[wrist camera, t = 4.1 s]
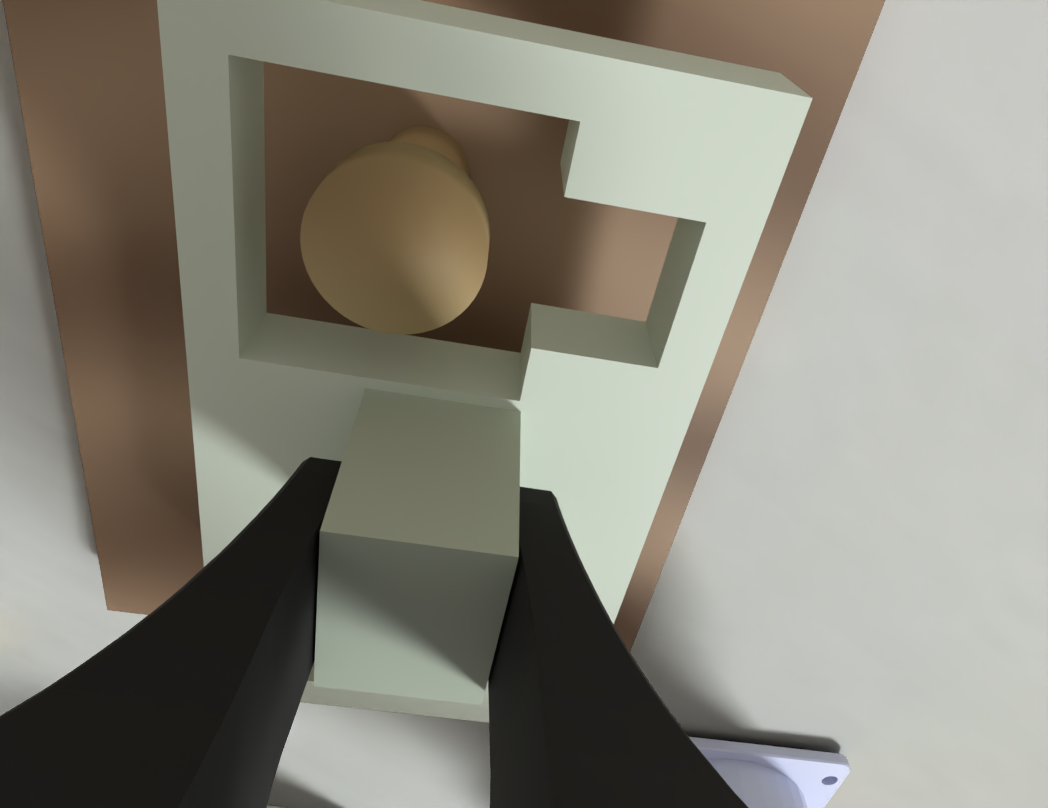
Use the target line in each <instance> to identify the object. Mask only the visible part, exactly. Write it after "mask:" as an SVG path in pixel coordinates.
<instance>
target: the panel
mask: <svg viewBox="0 0 1048 808" xmlns="http://www.w3.org/2000/svg"><path fill="white" fill-rule="evenodd" d="M157 7H158V19H159V31H160V43H161V55H162V67H163V79H164V91H165V103H166V115H167V128H168V140H169V152H170V164H171V176H172V188H173V200H174V212H175V224H176V236H177V249H178V261H179V273H180V285H181V297H182V309H183V321H184V333H185V345H186V357H187V370H188V382H189V394H190V406H191V418H192V430H193V442H194V454H195V466H196V478H197V490H198V503H199V515H200V527H201V539H202V551H203V563H204V567H205V566H206V565H207V564H208V563H209V562H210V561H211V560H212V559H214V558H215V557H216V556H217V555H218V554H219V553H220V552H221V551H222V550H223V549H224V548H225V547H226V546H227V545H228V544H229V543H230V542H231V541H232V540H233V539H234V538H235V537H236V536H237V535H238V534H239V533H240V532H241V531H242V530H243V529H244V528H245V527H246V526H247V525H248V524H249V523H250V522H251V521H252V520H253V519H254V518H255V517H256V516H257V515H258V513H259V512H260V511H261V510H262V509H263V508H264V507H265V506H266V505H267V504H268V502H269V501H270V500H271V499H272V498H273V497H274V496H275V495H276V493H277V492H278V491H279V490H280V489H281V488H282V487H283V485H284V484H285V483H286V482H287V481H288V479H289V478H290V477H291V476H292V474H293V473H294V472H295V471H296V469H297V468H298V467H299V466H300V464H301V463H302V462H303V461H304V460H306V459H308V458H309V457H314V458H321V459H328V460H335V461H342V463H341V466H340V469H339V472H338V475H337V479H336V482H335V485H334V488H333V491H332V494H331V497H330V501H329V504H328V507H327V510H326V513H325V516H324V519H323V523H322V526H321V529H320V539H319V564H318V590H317V615H316V640H315V661H314V664H313V667H312V670H311V672H310V675H309V678H308V681H307V684H306V686H305V689H304V692H303V695H302V698H301V700H300V702H304V703H314V704H323V705H332V706H341V707H350V708H359V709H368V710H377V711H386V712H396V713H405V714H414V715H423V716H432V717H441V718H450V719H459V720H468V721H478V722H487V723H489V695H488V678H489V674H490V670H491V666H492V662H493V658H494V654H495V650H496V646H497V642H498V638H499V634H500V630H501V626H502V622H503V618H504V614H505V610H506V606H507V602H508V598H509V594H510V590H511V586H512V582H513V578H514V574H515V570H516V566H517V562H518V558H519V502H520V487H526V488H533V489H540V490H548V491H552V493H553V494H554V495H555V497H556V498H557V501H558V504H559V507H560V510H561V513H562V516H563V518H564V521H565V524H566V526H567V529H568V531H569V534H570V536H571V539H572V541H573V543H574V546H575V548H576V550H577V552H578V555H579V557H580V559H581V561H582V564H583V566H584V568H585V570H586V572H587V574H588V576H589V578H590V580H591V582H592V584H593V586H594V588H595V590H596V592H597V594H598V596H599V598H600V600H601V602H602V604H603V606H604V608H605V610H606V611H607V613H608V615H609V617H610V619H611V621H612V623H613V624H614V622H615V619H616V617H617V614H618V611H619V609H620V606H621V604H622V601H623V598H624V596H625V593H626V590H627V588H628V585H629V582H630V580H631V577H632V574H633V572H634V569H635V567H636V564H637V561H638V559H639V556H640V553H641V551H642V548H643V545H644V543H645V540H646V538H647V535H648V532H649V530H650V527H651V524H652V522H653V519H654V516H655V514H656V511H657V508H658V506H659V503H660V501H661V498H662V495H663V493H664V490H665V487H666V485H667V482H668V479H669V477H670V474H671V471H672V469H673V466H674V464H675V461H676V458H677V456H678V453H679V450H680V448H681V445H682V442H683V440H684V437H685V434H686V432H687V429H688V427H689V424H690V421H691V419H692V416H693V413H694V411H695V408H696V405H697V403H698V400H699V397H700V395H701V392H702V390H703V387H704V384H705V382H706V379H707V376H708V374H709V371H710V368H711V366H712V363H713V360H714V358H715V355H716V353H717V350H718V347H719V345H720V342H721V339H722V337H723V334H724V331H725V329H726V326H727V323H728V321H729V318H730V316H731V313H732V310H733V308H734V305H735V302H736V300H737V297H738V294H739V292H740V289H741V286H742V284H743V281H744V279H745V276H746V273H747V271H748V268H749V265H750V263H751V260H752V257H753V255H754V252H755V250H756V247H757V244H758V242H759V239H760V236H761V234H762V231H763V228H764V226H765V223H766V220H767V218H768V215H769V213H770V210H771V207H772V205H773V202H774V199H775V197H776V194H777V191H778V189H779V186H780V183H781V181H782V178H783V176H784V173H785V170H786V168H787V165H788V162H789V160H790V157H791V154H792V152H793V149H794V146H795V144H796V141H797V139H798V136H799V133H800V131H801V128H802V125H803V123H804V120H805V117H806V115H807V112H808V109H809V107H810V104H811V102H812V99H813V98H812V97H811V96H809V95H808V94H807V93H805V92H804V91H803V90H802V89H800V88H799V87H798V86H796V85H795V84H794V83H793V82H791V81H790V80H789V79H787V78H786V77H785V76H784V75H782V74H781V73H778V72H773V71H768V70H763V69H759V68H754V67H749V66H744V65H739V64H734V63H729V62H724V61H719V60H714V59H709V58H704V57H699V56H694V55H689V54H684V53H679V52H674V51H669V50H664V49H660V48H655V47H650V46H645V45H640V44H635V43H630V42H625V41H620V40H615V39H610V38H605V37H600V36H595V35H590V34H585V33H580V32H575V31H570V30H565V29H561V28H556V27H551V26H546V25H541V24H536V23H531V22H526V21H521V20H516V19H511V18H506V17H501V16H496V15H491V14H486V13H481V12H476V11H471V10H466V9H461V8H457V7H452V6H447V5H442V4H437V3H432V2H427V1H422V0H157ZM264 61H265V62H270V63H275V64H280V65H286V66H291V67H296V68H301V69H307V70H312V71H317V72H322V73H328V74H333V75H338V76H343V77H349V78H354V79H359V80H364V81H370V82H375V83H380V84H385V85H391V86H396V87H401V88H407V89H412V90H417V91H422V92H428V93H433V94H438V95H443V96H449V97H454V98H459V99H464V100H470V101H475V102H480V103H485V104H491V105H496V106H501V107H506V108H512V109H517V110H522V111H527V112H533V113H538V114H543V115H548V116H554V117H559V118H564V119H569V123H568V128H567V133H566V138H565V142H564V147H563V152H562V157H561V162H560V164H561V173H562V182H563V191H564V197H567V198H573V199H579V200H584V201H590V202H595V203H601V204H606V205H612V206H617V207H623V208H629V209H634V210H640V211H645V212H651V213H656V214H662V215H667V216H673V217H678V219H677V222H676V226H675V229H674V232H673V235H672V239H671V242H670V245H669V248H668V252H667V255H666V258H665V261H664V264H663V268H662V271H661V274H660V277H659V281H658V284H657V287H656V290H655V294H654V297H653V300H652V303H651V307H650V310H649V313H648V316H647V320H646V322H644V321H638V320H632V319H626V318H620V317H614V316H608V315H602V314H596V313H590V312H584V311H578V310H571V309H565V308H559V307H553V306H547V305H541V304H535V303H531V306H530V310H529V315H528V320H527V325H526V330H525V334H524V339H523V344H522V349H521V353H518V352H511V351H505V350H499V349H493V348H486V347H480V346H474V345H467V344H461V343H455V342H448V341H442V340H436V339H429V338H423V337H417V336H411V335H398V334H388V333H383V332H378V331H374V330H371V329H366V328H360V327H354V326H347V325H341V324H335V323H329V322H322V321H316V320H310V319H303V318H297V317H291V316H284V315H278V314H272V313H267V303H266V221H265V139H264Z"/></svg>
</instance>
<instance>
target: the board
mask: <svg viewBox="0 0 1048 808" xmlns="http://www.w3.org/2000/svg"><path fill="white" fill-rule="evenodd" d="M422 1H427V2H432V3H437V4H442V5H447V6H452V7H457V8H461V9H466V10H471V11H476V12H481V13H486V14H491V15H496V16H501V17H506V18H511V19H516V20H521V21H526V22H531V23H536V24H541V25H546V26H551V27H556V28H561V29H565V30H570V31H575V32H580V33H585V34H590V35H595V36H600V37H605V38H610V39H615V40H620V41H625V42H630V43H635V44H640V45H645V46H650V47H655V48H660V49H664V50H669V51H674V52H679V53H684V54H689V55H694V56H699V57H704V58H709V59H714V60H719V61H724V62H729V63H734V64H739V65H744V66H749V67H754V68H759V69H763V70H768V71H773V72H778V73H781V74H782V75H784V76H785V77H786V78H787V79H789V80H790V81H791V82H793V83H794V84H795V85H796V86H798V87H799V88H800V89H802V90H803V91H804V92H805V93H807V94H808V95H809V96H811V97H812V98H813V99H812V102H811V104H810V107H809V109H808V112H807V115H806V117H805V120H804V123H803V125H802V128H801V131H800V133H799V136H798V139H797V141H796V144H795V146H794V149H793V152H792V154H791V157H790V160H789V162H788V165H787V168H786V170H785V173H784V176H783V178H782V181H781V183H780V186H779V189H778V191H777V194H776V197H775V199H774V202H773V205H772V207H771V210H770V213H769V215H768V218H767V220H766V223H765V226H764V228H763V231H762V234H761V236H760V239H759V242H758V244H757V247H756V250H755V252H754V255H753V257H752V260H751V263H750V265H749V268H748V271H747V273H746V276H745V279H744V281H743V284H742V286H741V289H740V292H739V294H738V297H737V300H736V302H735V305H734V308H733V310H732V313H731V316H730V318H729V321H728V323H727V326H726V329H725V331H724V334H723V337H722V339H721V342H720V345H719V347H718V350H717V353H716V355H715V358H714V360H713V363H712V366H711V368H710V371H709V374H708V376H707V379H706V382H705V384H704V387H703V390H702V392H701V395H700V397H699V400H698V403H697V405H696V408H695V411H694V413H693V416H692V419H691V421H690V424H689V427H688V429H687V432H686V434H685V437H684V440H683V442H682V445H681V448H680V450H679V453H678V456H677V458H676V461H675V464H674V466H673V469H672V471H671V474H670V477H669V479H668V482H667V485H666V487H665V490H664V493H663V495H662V498H661V501H660V503H659V506H658V508H657V511H656V514H655V516H654V519H653V522H652V524H651V527H650V530H649V532H648V535H647V538H646V540H645V543H644V545H643V548H642V551H641V553H640V556H639V559H638V561H637V564H636V567H635V569H634V572H633V574H632V577H631V580H630V582H629V585H628V588H627V590H626V593H625V596H624V598H623V601H622V604H621V606H620V609H619V611H618V614H617V617H616V619H615V622H614V626H615V628H616V629H617V631H618V633H619V635H620V636H621V638H622V640H623V642H624V643H625V645H626V647H627V648H628V650H629V652H630V650H631V648H632V645H633V642H634V640H635V637H636V635H637V632H638V630H639V627H640V625H641V622H642V619H643V617H644V614H645V612H646V609H647V607H648V604H649V602H650V599H651V597H652V594H653V591H654V589H655V586H656V584H657V581H658V579H659V576H660V574H661V571H662V568H663V566H664V563H665V561H666V558H667V556H668V553H669V551H670V548H671V546H672V543H673V540H674V538H675V535H676V533H677V530H678V528H679V525H680V523H681V520H682V517H683V515H684V512H685V510H686V507H687V505H688V502H689V500H690V497H691V495H692V492H693V489H694V487H695V484H696V482H697V479H698V477H699V474H700V472H701V469H702V466H703V464H704V461H705V459H706V456H707V454H708V451H709V449H710V446H711V444H712V441H713V438H714V436H715V433H716V431H717V428H718V426H719V423H720V421H721V418H722V415H723V413H724V410H725V408H726V405H727V403H728V400H729V398H730V395H731V393H732V390H733V387H734V385H735V382H736V380H737V377H738V375H739V372H740V370H741V367H742V364H743V362H744V359H745V357H746V354H747V352H748V349H749V347H750V344H751V342H752V339H753V336H754V334H755V331H756V329H757V326H758V324H759V321H760V319H761V316H762V313H763V311H764V308H765V306H766V303H767V301H768V298H769V296H770V293H771V291H772V288H773V285H774V283H775V280H776V278H777V275H778V273H779V270H780V268H781V265H782V262H783V260H784V257H785V255H786V252H787V250H788V247H789V245H790V242H791V240H792V237H793V234H794V232H795V229H796V227H797V224H798V222H799V219H800V217H801V214H802V211H803V209H804V206H805V204H806V201H807V199H808V196H809V194H810V191H811V189H812V186H813V183H814V181H815V178H816V176H817V173H818V171H819V168H820V166H821V163H822V160H823V158H824V155H825V153H826V150H827V148H828V145H829V143H830V140H831V138H832V135H833V132H834V130H835V127H836V125H837V122H838V120H839V117H840V115H841V112H842V109H843V107H844V104H845V102H846V99H847V97H848V94H849V92H850V89H851V87H852V84H853V81H854V79H855V76H856V74H857V71H858V69H859V66H860V64H861V61H862V58H863V56H864V53H865V51H866V48H867V46H868V43H869V41H870V38H871V36H872V33H873V30H874V28H875V25H876V23H877V20H878V18H879V15H880V13H881V10H882V7H883V5H884V2H885V0H422ZM3 5H4V11H5V17H6V23H7V29H8V34H9V40H10V46H11V52H12V58H13V64H14V69H15V75H16V81H17V87H18V93H19V98H20V104H21V110H22V116H23V122H24V128H25V133H26V139H27V145H28V151H29V157H30V163H31V168H32V174H33V180H34V186H35V192H36V197H37V203H38V209H39V215H40V221H41V227H42V232H43V238H44V244H45V250H46V256H47V261H48V267H49V273H50V279H51V285H52V291H53V296H54V302H55V308H56V314H57V320H58V326H59V331H60V337H61V343H62V349H63V355H64V360H65V366H66V372H67V378H68V384H69V390H70V395H71V401H72V407H73V413H74V419H75V425H76V430H77V436H78V442H79V448H80V454H81V459H82V465H83V471H84V477H85V483H86V489H87V494H88V500H89V506H90V512H91V518H92V524H93V529H94V535H95V541H96V547H97V553H98V558H99V564H100V570H101V576H102V582H103V588H104V593H105V599H106V605H107V610H112V611H120V612H129V613H137V614H145V615H149V614H150V613H152V612H153V611H154V610H155V609H157V608H158V607H159V606H160V605H162V604H163V603H164V602H165V601H166V600H168V599H169V598H170V597H171V596H172V595H173V594H175V593H176V592H177V591H178V590H179V589H181V588H182V587H183V586H184V585H185V584H186V583H187V582H188V581H189V580H191V579H192V578H193V577H194V576H195V575H196V574H197V573H198V572H199V571H200V570H201V569H203V568H204V563H203V551H202V539H201V527H200V515H199V503H198V490H197V478H196V466H195V454H194V442H193V430H192V418H191V406H190V394H189V382H188V370H187V357H186V345H185V333H184V321H183V309H182V297H181V285H180V273H179V261H178V249H177V236H176V224H175V212H174V200H173V188H172V176H171V164H170V152H169V140H168V128H167V115H166V103H165V91H164V79H163V67H162V55H161V43H160V31H159V19H158V7H157V0H3ZM568 123H569V119H564V118H559V117H554V116H548V115H543V114H538V113H533V112H527V111H522V110H517V109H512V108H506V107H501V106H496V105H491V104H485V103H480V102H475V101H470V100H464V99H459V98H454V97H449V96H443V95H438V94H433V93H428V92H422V91H417V90H412V89H407V88H401V87H396V86H391V85H385V84H380V83H375V82H370V81H364V80H359V79H354V78H349V77H343V76H338V75H333V74H328V73H322V72H317V71H312V70H307V69H301V68H296V67H291V66H286V65H280V64H275V63H270V62H265V61H264V139H265V221H266V303H267V313H272V314H278V315H284V316H291V317H297V318H303V319H310V320H316V321H322V322H329V323H335V324H341V325H347V326H354V327H360V328H366V329H371V330H374V331H378V332H383V333H388V334H398V335H411V336H417V337H423V338H429V339H436V340H442V341H448V342H455V343H461V344H467V345H474V346H480V347H486V348H493V349H499V350H505V351H511V352H518V353H521V349H522V344H523V339H524V334H525V330H526V325H527V320H528V315H529V310H530V306H531V303H535V304H541V305H547V306H553V307H559V308H565V309H571V310H578V311H584V312H590V313H596V314H602V315H608V316H614V317H620V318H626V319H632V320H638V321H644V322H646V320H647V316H648V313H649V310H650V307H651V303H652V300H653V297H654V294H655V290H656V287H657V284H658V281H659V277H660V274H661V271H662V268H663V264H664V261H665V258H666V255H667V252H668V248H669V245H670V242H671V239H672V235H673V232H674V229H675V226H676V222H677V219H678V217H673V216H667V215H662V214H656V213H651V212H645V211H640V210H634V209H629V208H623V207H617V206H612V205H606V204H601V203H595V202H590V201H584V200H579V199H573V198H567V197H564V191H563V182H562V173H561V164H560V162H561V157H562V152H563V147H564V142H565V138H566V133H567V128H568Z"/></svg>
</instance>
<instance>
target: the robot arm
mask: <svg viewBox="0 0 1048 808" xmlns="http://www.w3.org/2000/svg"><path fill="white" fill-rule="evenodd" d="M341 463H342V461H335V460H328V459H321V458H314V457H309V458H308V459H306V460H304V461H303V462H302V463H301V464H300V466H299V467H298V468H297V469H296V471H295V472H294V473H293V474H292V476H291V477H290V478H289V479H288V481H287V482H286V483H285V484H284V485H283V487H282V488H281V489H280V490H279V491H278V492H277V493H276V495H275V496H274V497H273V498H272V499H271V500H270V501H269V502H268V504H267V505H266V506H265V507H264V508H263V509H262V510H261V511H260V512H259V513H258V515H257V516H256V517H255V518H254V519H253V520H252V521H251V522H250V523H249V524H248V525H247V526H246V527H245V528H244V529H243V530H242V531H241V532H240V533H239V534H238V535H237V536H236V537H235V538H234V539H233V540H232V541H231V542H230V543H229V544H228V545H227V546H226V547H225V548H224V549H223V550H222V551H221V552H220V553H219V554H218V555H217V556H216V557H215V558H214V559H212V560H211V561H210V562H209V563H208V564H207V565H206V566H205V567H204V568H203V569H201V570H200V571H199V572H198V573H197V574H196V575H195V576H194V577H193V578H192V579H191V580H189V581H188V582H187V583H186V584H185V585H184V586H183V587H182V588H181V589H179V590H178V591H177V592H176V593H175V594H173V595H172V596H171V597H170V598H169V599H168V600H166V601H165V602H164V603H163V604H162V605H160V606H159V607H158V608H157V609H155V610H154V611H153V612H152V613H150V614H149V615H148V616H147V617H145V618H144V619H143V620H142V621H140V622H139V623H138V624H136V625H135V626H134V627H132V628H131V629H130V630H129V631H127V632H126V633H125V634H123V635H122V636H121V637H119V638H118V639H117V640H115V641H114V642H112V643H111V644H110V645H108V646H107V647H105V648H104V649H103V650H101V651H100V652H98V653H97V654H96V655H94V656H93V657H91V658H90V659H89V660H87V661H86V662H84V663H83V664H81V665H80V666H79V667H77V668H76V669H74V670H73V671H71V672H70V673H68V674H67V675H65V676H64V677H62V678H61V679H59V680H58V681H56V682H55V683H53V684H52V685H50V686H49V687H47V688H46V689H44V690H43V691H41V692H39V693H38V694H36V695H34V696H33V697H31V698H29V699H28V700H26V701H24V702H23V703H21V704H19V705H18V706H16V707H15V708H13V709H11V710H10V711H8V712H6V713H5V714H3V715H1V716H0V808H266V807H267V803H268V799H269V795H270V791H271V787H272V783H273V780H274V777H275V774H276V770H277V767H278V764H279V761H280V758H281V754H282V751H283V748H284V745H285V743H286V740H287V737H288V734H289V731H290V729H291V726H292V723H293V720H294V717H295V715H296V712H297V709H298V706H299V703H300V700H301V698H302V695H303V692H304V689H305V686H306V684H307V681H308V678H309V675H310V672H311V670H312V667H313V664H314V661H315V640H316V615H317V590H318V564H319V539H320V529H321V526H322V523H323V519H324V516H325V513H326V510H327V507H328V504H329V501H330V497H331V494H332V491H333V488H334V485H335V482H336V479H337V475H338V472H339V469H340V466H341ZM488 695H489V731H490V768H491V783H490V808H824V807H825V805H826V804H827V802H828V801H829V800H830V798H831V797H832V796H833V794H834V793H835V791H836V790H837V789H838V787H839V786H840V785H841V783H842V782H843V780H844V779H845V778H846V776H847V775H848V774H849V772H850V766H849V763H848V760H847V758H846V757H845V756H844V755H842V754H838V753H831V752H822V751H813V750H804V749H795V748H786V747H777V746H768V745H760V744H751V743H742V742H733V741H724V740H715V739H706V738H697V737H688V736H687V734H686V733H685V732H684V730H683V729H682V728H681V726H680V725H679V723H678V722H677V721H676V719H675V718H674V717H673V715H672V714H671V713H670V711H669V710H668V709H667V707H666V706H665V704H664V703H663V702H662V700H661V699H660V697H659V696H658V694H657V693H656V692H655V690H654V689H653V687H652V686H651V684H650V683H649V681H648V680H647V678H646V677H645V675H644V674H643V672H642V671H641V669H640V668H639V666H638V664H637V663H636V661H635V660H634V658H633V656H632V655H631V653H630V652H629V650H628V648H627V647H626V645H625V643H624V642H623V640H622V638H621V636H620V635H619V633H618V631H617V629H616V628H615V626H614V624H613V623H612V621H611V619H610V617H609V615H608V613H607V611H606V610H605V608H604V606H603V604H602V602H601V600H600V598H599V596H598V594H597V592H596V590H595V588H594V586H593V584H592V582H591V580H590V578H589V576H588V574H587V572H586V570H585V568H584V566H583V564H582V561H581V559H580V557H579V555H578V552H577V550H576V548H575V546H574V543H573V541H572V539H571V536H570V534H569V531H568V529H567V526H566V524H565V521H564V518H563V516H562V513H561V510H560V507H559V504H558V501H557V498H556V497H555V495H554V494H553V493H552V491H548V490H540V489H533V488H526V487H520V502H519V558H518V562H517V566H516V570H515V574H514V578H513V582H512V586H511V590H510V594H509V598H508V602H507V606H506V610H505V614H504V618H503V622H502V626H501V630H500V634H499V638H498V642H497V646H496V650H495V654H494V658H493V662H492V666H491V670H490V674H489V678H488Z"/></svg>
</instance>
